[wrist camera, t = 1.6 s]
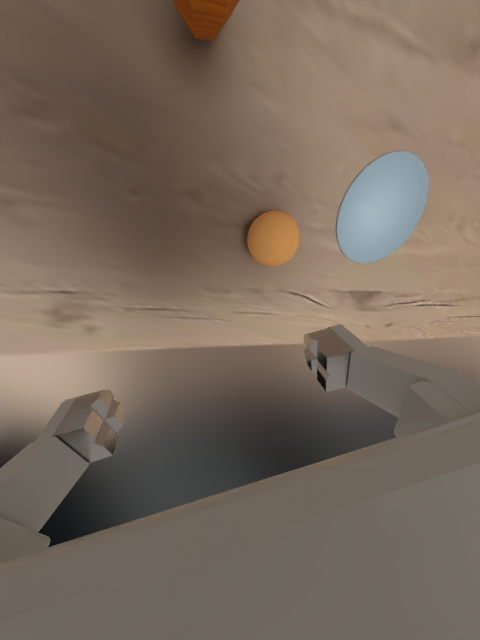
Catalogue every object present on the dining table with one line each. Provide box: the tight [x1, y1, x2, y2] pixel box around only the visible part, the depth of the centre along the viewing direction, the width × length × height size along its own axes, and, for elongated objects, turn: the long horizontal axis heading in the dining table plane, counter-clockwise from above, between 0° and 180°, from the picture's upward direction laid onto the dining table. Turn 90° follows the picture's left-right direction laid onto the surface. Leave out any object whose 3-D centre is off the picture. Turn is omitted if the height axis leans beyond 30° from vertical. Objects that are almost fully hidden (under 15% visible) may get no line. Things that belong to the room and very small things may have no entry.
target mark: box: [336, 151, 429, 263], centre depth 25 cm, size 12×12×1 cm
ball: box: [247, 210, 300, 266], centre depth 21 cm, size 5×5×5 cm
